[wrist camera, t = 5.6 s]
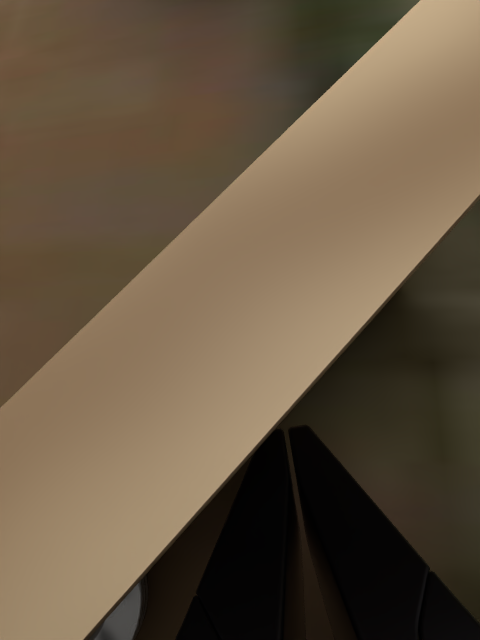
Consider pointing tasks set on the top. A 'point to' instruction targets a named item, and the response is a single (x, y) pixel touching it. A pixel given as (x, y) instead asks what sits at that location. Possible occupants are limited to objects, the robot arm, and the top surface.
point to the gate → (233, 326)
